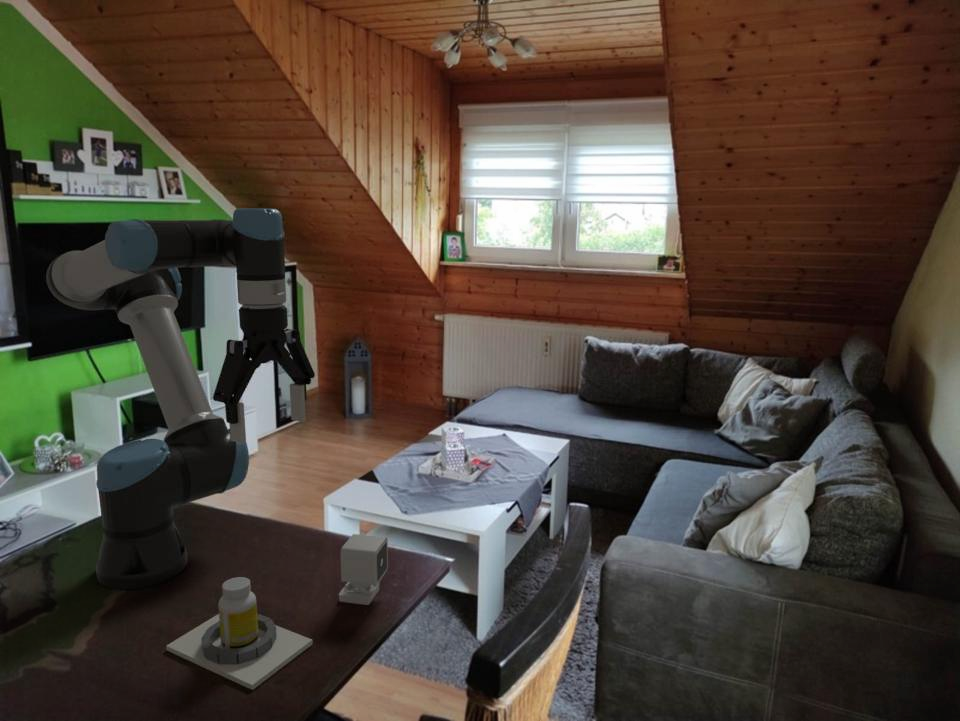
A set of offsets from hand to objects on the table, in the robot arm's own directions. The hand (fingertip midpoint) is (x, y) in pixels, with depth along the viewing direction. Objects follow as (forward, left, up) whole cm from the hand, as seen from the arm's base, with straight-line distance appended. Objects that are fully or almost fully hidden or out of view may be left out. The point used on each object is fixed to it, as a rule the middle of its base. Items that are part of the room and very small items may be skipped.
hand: (269, 430), depth 117 cm
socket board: (+8, -16, -29) cm, 34 cm away
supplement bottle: (+8, -16, -28) cm, 33 cm away
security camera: (+15, +5, -29) cm, 33 cm away
